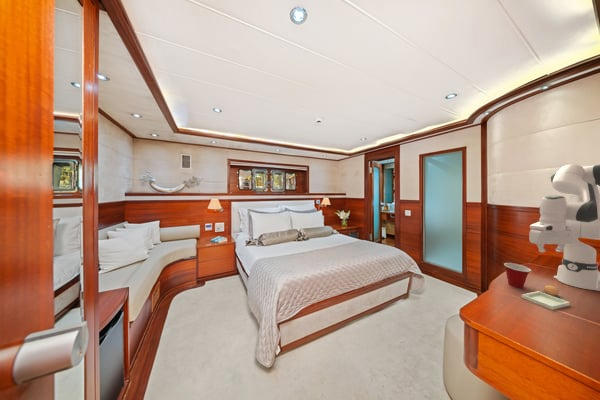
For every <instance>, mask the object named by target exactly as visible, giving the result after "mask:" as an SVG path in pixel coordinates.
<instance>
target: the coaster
mask: <svg viewBox="0 0 600 400" xmlns="http://www.w3.org/2000/svg"><path fill="white" fill-rule="evenodd" d="M541 292H542V293H545V291H544V290H543V291H541ZM545 294H547V293H545ZM548 295H549V294H548ZM551 296H552V295H551ZM554 297H556V298H559V299H562V300H563V299H564V298H565V299H566V297H564V296H561V295H559V294H558V295H556V296H554Z"/></svg>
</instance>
